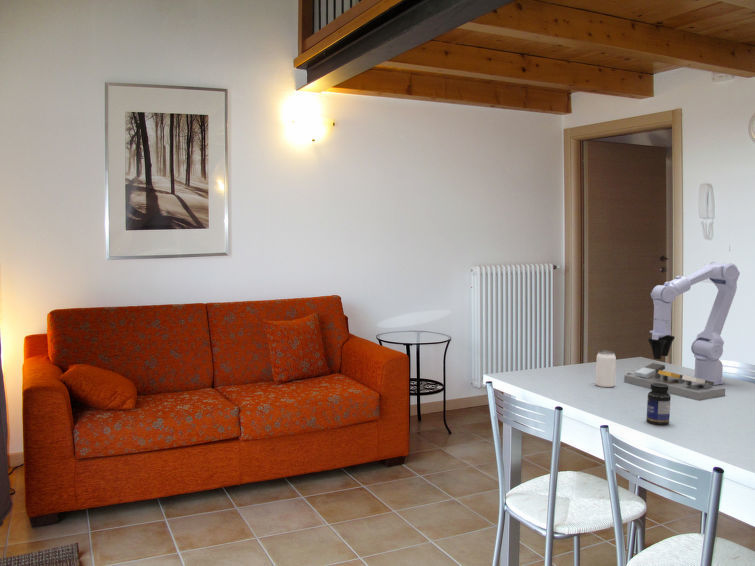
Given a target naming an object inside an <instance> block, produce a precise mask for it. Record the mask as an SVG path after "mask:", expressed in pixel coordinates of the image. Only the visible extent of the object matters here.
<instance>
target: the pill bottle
mask: <svg viewBox="0 0 755 566" xmlns="http://www.w3.org/2000/svg"><path fill="white" fill-rule="evenodd" d="M650 389H651V390H650V391H649V392H648V393H647V400H646V401H647V403H646V422H648V423H649V424H652V425H657V426H666V425H668V424H669V423H670V418H671V417H670V415H671V414H670V413H671V393H667V391H668V385H666V384H662V383H652V384H651V388H650Z"/></svg>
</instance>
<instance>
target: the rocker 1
mask: <svg viewBox="0 0 755 566" xmlns="http://www.w3.org/2000/svg"><path fill="white" fill-rule="evenodd" d="M665 369H666V365H665V364H661V363H660V364H659V363H656V362H652V363H650V364H648V365H645V366H644V367H642V368H639V369H637V370H635V371H634V374H635V375H636V376H640V377H644V378H648V377H650V376H652V375H654V374H655V373H658V372H659V370H662V371H665Z"/></svg>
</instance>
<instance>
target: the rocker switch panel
mask: <svg viewBox="0 0 755 566" xmlns="http://www.w3.org/2000/svg"><path fill="white" fill-rule="evenodd" d="M623 381H624V383H627V384H630V385H631V384H632V385H635V386H639V387H644V388H648V389H651V384H652V383H662V384H666V385H668V391H667V393H668V394H670V395H676V396H680V397H684V398H688V399H692V400H695V401H702V400H709V399H713V398H719V397H725V396H726V388H725V387H722V386H717V385H713V386H710V385H709V383H706V384H701V383H697V382H692V381H688V380H684V379H682V378H674V377H670V376H666V375H661V374H658V373H655V374H654V375H652V376H650V377H648V378H644V377H640V376H636V375H635V373H631V372H627V373H626V374H625V375H624V379H623Z"/></svg>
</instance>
